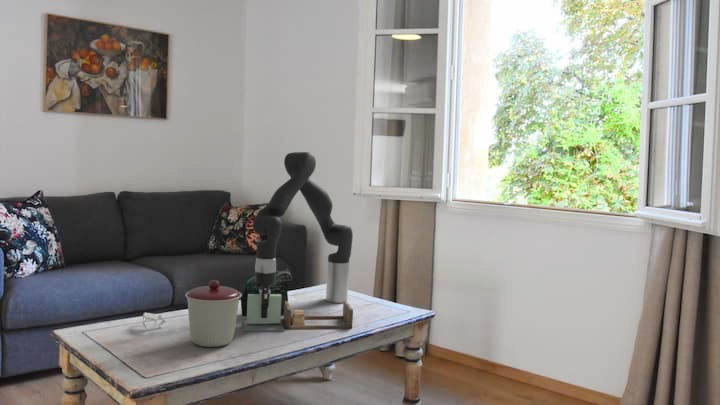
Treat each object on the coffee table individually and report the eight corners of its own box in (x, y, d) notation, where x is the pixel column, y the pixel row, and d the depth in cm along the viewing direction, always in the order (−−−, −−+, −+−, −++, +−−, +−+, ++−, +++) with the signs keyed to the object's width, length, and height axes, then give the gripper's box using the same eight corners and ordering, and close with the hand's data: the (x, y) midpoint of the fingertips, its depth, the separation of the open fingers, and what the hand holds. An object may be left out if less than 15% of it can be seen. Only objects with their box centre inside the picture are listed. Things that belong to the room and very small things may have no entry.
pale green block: (246, 320, 235) (247, 294, 234) (279, 320, 238) (280, 294, 237) (247, 323, 232) (248, 296, 231) (280, 322, 235) (281, 296, 234)
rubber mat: (243, 320, 240) (243, 319, 240) (280, 320, 243) (280, 319, 243) (244, 331, 227) (244, 330, 227) (284, 331, 230) (284, 329, 230)
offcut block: (292, 320, 245) (292, 309, 244) (303, 321, 245) (304, 309, 245) (292, 326, 237) (293, 314, 237) (304, 327, 238) (305, 315, 237)
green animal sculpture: (289, 311, 257) (291, 262, 255) (292, 315, 251) (294, 265, 249) (239, 313, 251) (241, 262, 249) (241, 317, 245) (243, 265, 243)
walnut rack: (283, 318, 247) (284, 300, 246) (345, 318, 252) (346, 300, 251) (287, 329, 233) (288, 310, 232) (352, 328, 238) (353, 310, 237)
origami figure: (172, 329, 225) (172, 315, 225) (152, 334, 218) (152, 320, 218) (149, 322, 232) (149, 309, 231) (129, 327, 225) (130, 314, 224)
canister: (251, 342, 215) (253, 280, 213) (210, 355, 200) (212, 289, 198) (213, 331, 225) (215, 272, 223) (172, 342, 210) (173, 279, 208)
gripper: (254, 266, 239) (252, 311, 241) (256, 273, 226) (254, 321, 227) (274, 266, 241) (272, 311, 242) (277, 274, 227) (275, 321, 229)
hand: (263, 316), depth 235 cm, fingers closed on pale green block, 3 cm apart
